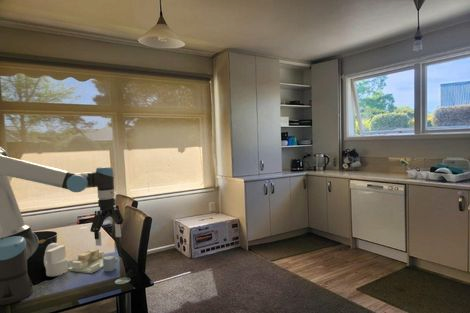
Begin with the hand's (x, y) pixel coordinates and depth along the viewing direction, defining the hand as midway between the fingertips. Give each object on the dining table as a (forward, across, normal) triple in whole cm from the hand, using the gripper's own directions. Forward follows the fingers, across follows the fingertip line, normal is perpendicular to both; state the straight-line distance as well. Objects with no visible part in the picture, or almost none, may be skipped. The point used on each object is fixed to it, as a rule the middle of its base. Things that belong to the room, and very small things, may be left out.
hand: (108, 241), depth 148 cm
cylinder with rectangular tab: (+14, -9, +24) cm, 30 cm away
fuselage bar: (+13, +4, +17) cm, 22 cm away
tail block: (+14, 0, 0) cm, 14 cm away
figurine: (+14, -3, +34) cm, 37 cm away
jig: (+14, +3, +13) cm, 20 cm away
